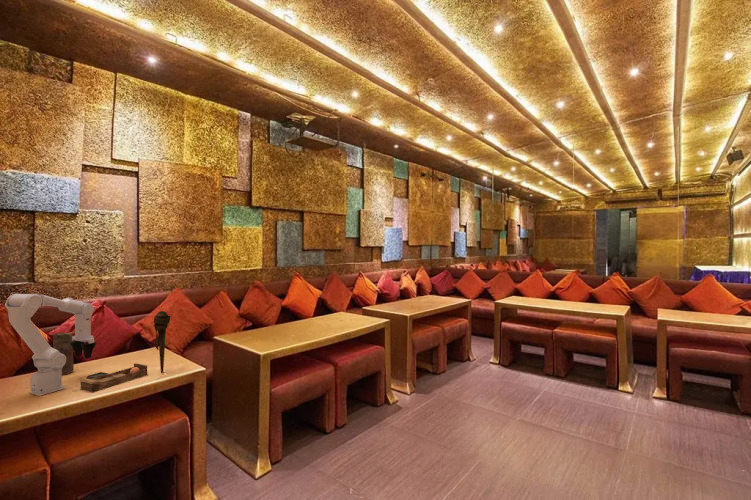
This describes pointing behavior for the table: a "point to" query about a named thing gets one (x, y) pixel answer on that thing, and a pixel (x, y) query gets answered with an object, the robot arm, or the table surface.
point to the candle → (64, 350)
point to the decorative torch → (161, 334)
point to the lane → (113, 378)
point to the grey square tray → (96, 375)
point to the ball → (134, 369)
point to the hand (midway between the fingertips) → (83, 357)
